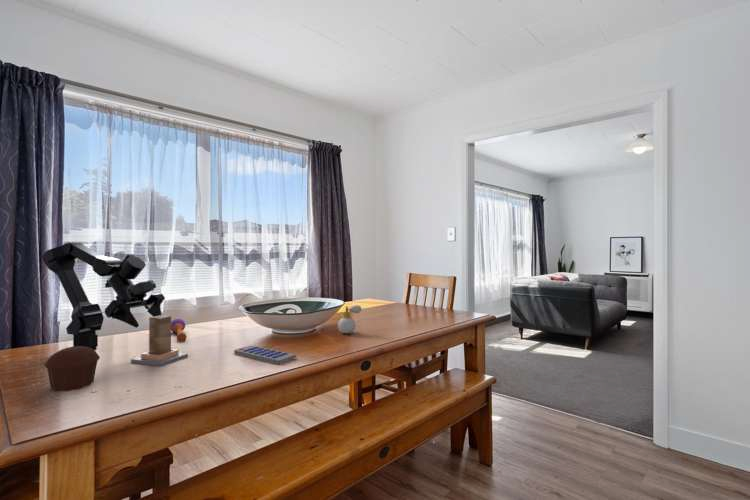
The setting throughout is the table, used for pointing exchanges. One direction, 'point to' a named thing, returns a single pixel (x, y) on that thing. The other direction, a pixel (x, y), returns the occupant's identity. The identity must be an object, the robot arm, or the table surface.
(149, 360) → the baseplate
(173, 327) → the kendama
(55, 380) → the muffin
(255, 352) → the remote control
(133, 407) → the table surface
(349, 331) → the perfume bottle
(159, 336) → the walnut post
